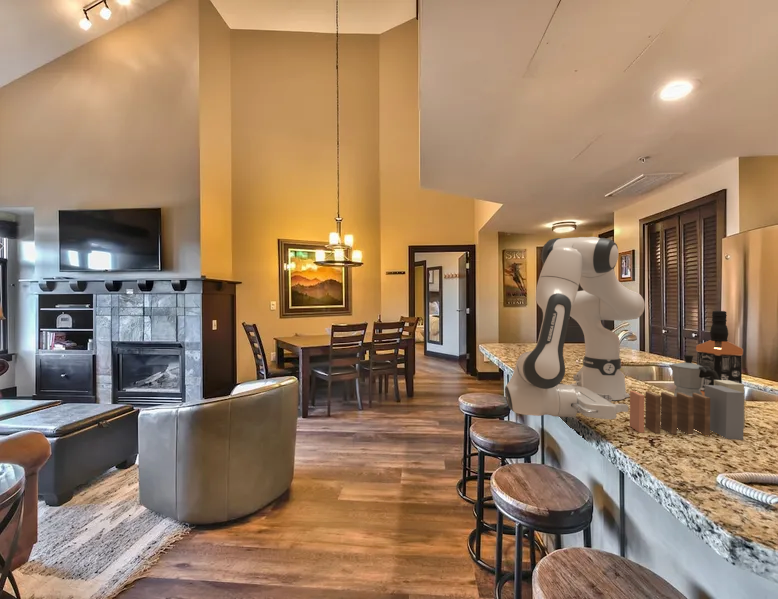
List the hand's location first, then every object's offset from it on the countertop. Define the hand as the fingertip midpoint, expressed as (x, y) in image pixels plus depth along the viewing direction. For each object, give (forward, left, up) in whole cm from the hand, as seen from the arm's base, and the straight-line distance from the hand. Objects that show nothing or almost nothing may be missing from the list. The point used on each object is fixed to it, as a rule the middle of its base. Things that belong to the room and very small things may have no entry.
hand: (618, 402), depth 104 cm
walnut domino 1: (0, +9, -7) cm, 11 cm away
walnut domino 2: (0, +13, -7) cm, 15 cm away
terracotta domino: (0, +5, -7) cm, 9 cm away
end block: (0, +26, -7) cm, 27 cm away
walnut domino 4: (0, +21, -7) cm, 22 cm away
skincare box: (-9, +34, -7) cm, 36 cm away
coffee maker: (-20, +31, -7) cm, 38 cm away
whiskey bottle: (-31, +46, -7) cm, 56 cm away
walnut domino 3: (0, +17, -7) cm, 18 cm away
